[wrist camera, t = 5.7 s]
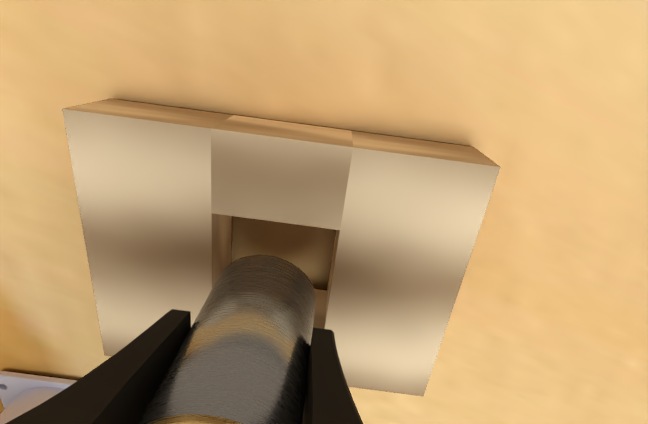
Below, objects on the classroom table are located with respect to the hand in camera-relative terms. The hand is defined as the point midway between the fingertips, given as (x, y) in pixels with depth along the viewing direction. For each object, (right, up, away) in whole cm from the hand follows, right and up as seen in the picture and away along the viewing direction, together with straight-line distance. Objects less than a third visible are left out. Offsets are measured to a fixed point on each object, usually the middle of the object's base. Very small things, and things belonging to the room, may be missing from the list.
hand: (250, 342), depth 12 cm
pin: (0, +1, +2) cm, 3 cm away
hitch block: (0, +3, +6) cm, 7 cm away
